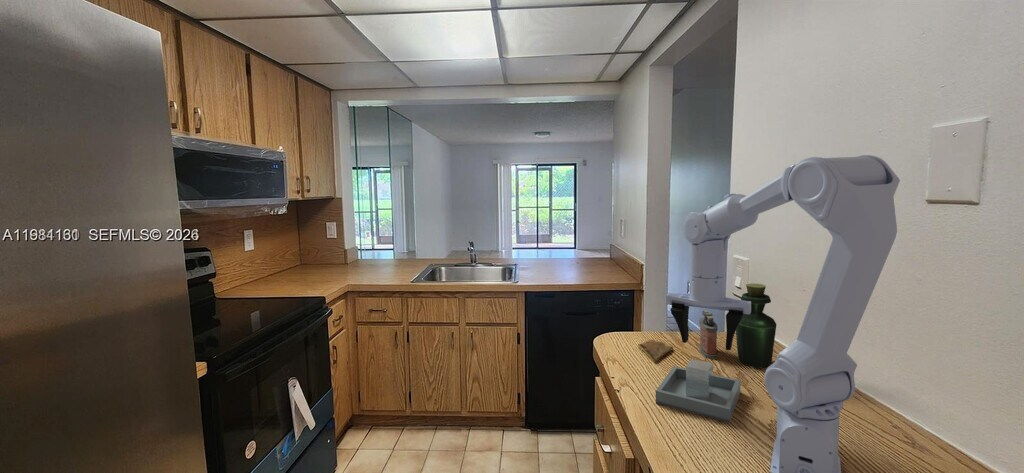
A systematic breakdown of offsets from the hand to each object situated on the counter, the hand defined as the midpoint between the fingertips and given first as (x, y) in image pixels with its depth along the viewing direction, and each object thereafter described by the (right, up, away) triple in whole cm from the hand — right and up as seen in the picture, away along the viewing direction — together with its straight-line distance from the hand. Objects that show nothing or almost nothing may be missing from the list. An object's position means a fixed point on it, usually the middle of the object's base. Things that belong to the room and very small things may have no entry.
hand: (706, 344), depth 78 cm
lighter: (+11, -8, +22) cm, 25 cm away
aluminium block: (-1, -10, +1) cm, 10 cm away
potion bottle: (+18, -8, +15) cm, 25 cm away
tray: (-1, -11, +1) cm, 11 cm away
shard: (-1, -9, +23) cm, 24 cm away
